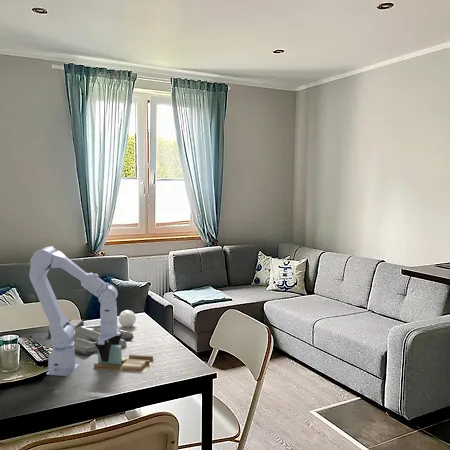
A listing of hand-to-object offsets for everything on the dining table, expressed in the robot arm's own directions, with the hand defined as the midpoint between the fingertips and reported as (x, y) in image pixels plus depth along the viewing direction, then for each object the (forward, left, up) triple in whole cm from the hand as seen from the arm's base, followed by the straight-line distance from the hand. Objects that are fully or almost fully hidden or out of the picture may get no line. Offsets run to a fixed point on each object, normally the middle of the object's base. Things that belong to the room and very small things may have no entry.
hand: (109, 357), depth 167 cm
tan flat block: (0, -9, -3) cm, 10 cm away
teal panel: (0, 0, -3) cm, 3 cm away
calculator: (+36, +36, -5) cm, 51 cm away
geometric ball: (+48, +12, -4) cm, 49 cm away
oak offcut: (0, -9, -2) cm, 9 cm away
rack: (+2, -4, -4) cm, 7 cm away
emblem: (+24, +16, -5) cm, 29 cm away
